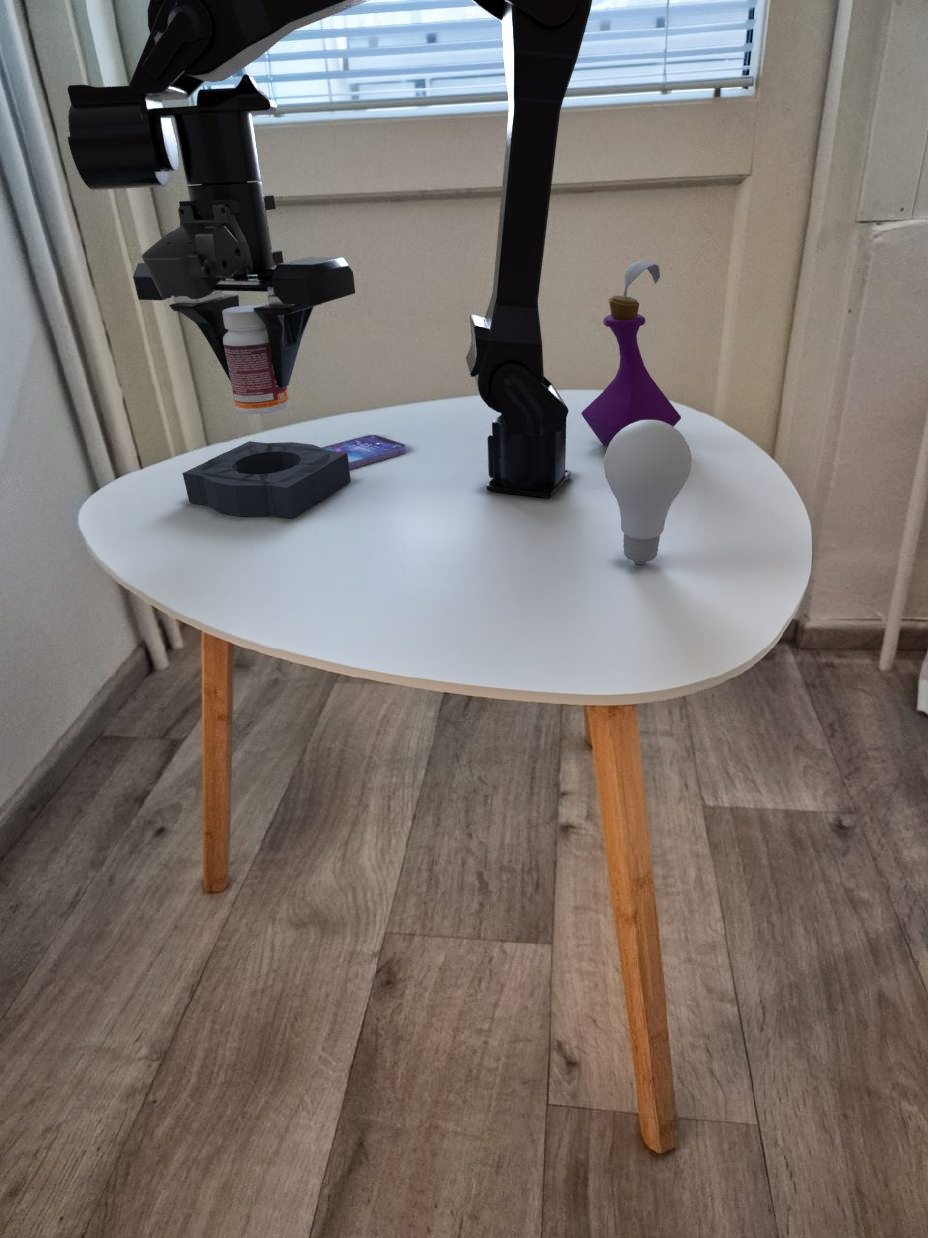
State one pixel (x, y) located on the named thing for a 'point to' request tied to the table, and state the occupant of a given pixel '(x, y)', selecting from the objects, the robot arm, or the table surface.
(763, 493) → the table surface
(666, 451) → the lightbulb
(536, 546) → the table surface
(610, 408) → the purple potion bottle
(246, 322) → the pill bottle
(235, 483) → the dark grey flat block
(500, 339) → the robot arm
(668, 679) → the table surface
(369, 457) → the smartphone
